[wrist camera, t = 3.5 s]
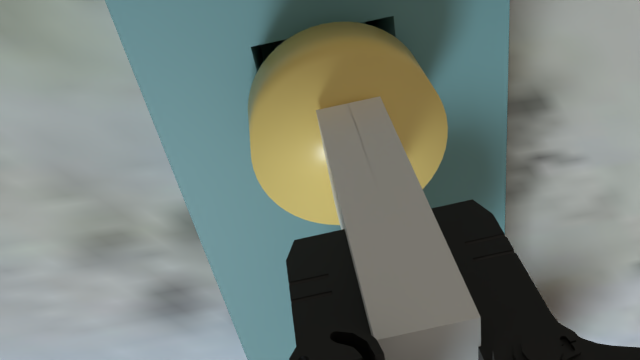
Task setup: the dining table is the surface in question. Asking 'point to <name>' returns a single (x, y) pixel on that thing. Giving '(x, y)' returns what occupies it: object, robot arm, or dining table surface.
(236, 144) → the mount
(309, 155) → the plunger
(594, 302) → the dining table surface
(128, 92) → the dining table surface
